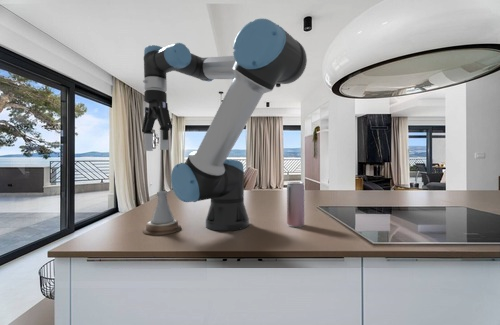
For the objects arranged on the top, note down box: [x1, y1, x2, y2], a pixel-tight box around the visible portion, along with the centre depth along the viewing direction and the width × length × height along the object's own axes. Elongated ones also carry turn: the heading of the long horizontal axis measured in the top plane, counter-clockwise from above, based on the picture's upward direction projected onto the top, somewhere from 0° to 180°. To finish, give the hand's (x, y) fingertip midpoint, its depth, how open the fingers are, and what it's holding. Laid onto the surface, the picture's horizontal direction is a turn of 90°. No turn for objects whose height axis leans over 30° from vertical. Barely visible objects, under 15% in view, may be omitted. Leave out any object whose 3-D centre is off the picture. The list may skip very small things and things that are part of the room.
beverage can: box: [286, 181, 305, 228], centre depth 89 cm, size 6×6×15 cm
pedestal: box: [142, 218, 182, 236], centre depth 84 cm, size 12×12×3 cm
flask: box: [150, 190, 175, 224], centre depth 84 cm, size 7×7×10 cm
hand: (156, 150), depth 92 cm, fingers open, 13 cm apart
